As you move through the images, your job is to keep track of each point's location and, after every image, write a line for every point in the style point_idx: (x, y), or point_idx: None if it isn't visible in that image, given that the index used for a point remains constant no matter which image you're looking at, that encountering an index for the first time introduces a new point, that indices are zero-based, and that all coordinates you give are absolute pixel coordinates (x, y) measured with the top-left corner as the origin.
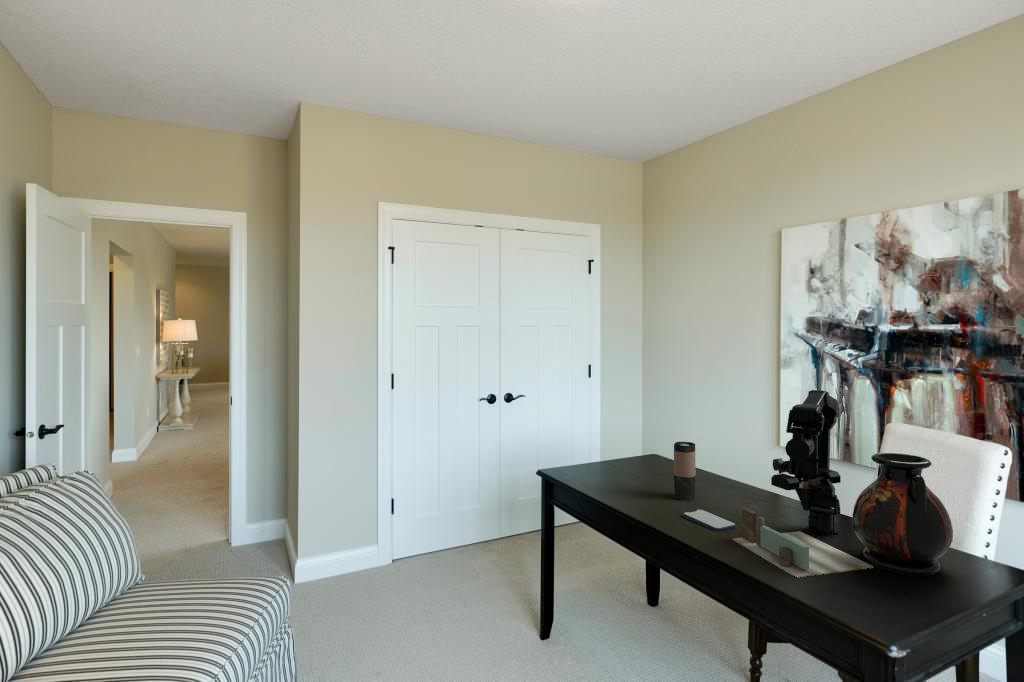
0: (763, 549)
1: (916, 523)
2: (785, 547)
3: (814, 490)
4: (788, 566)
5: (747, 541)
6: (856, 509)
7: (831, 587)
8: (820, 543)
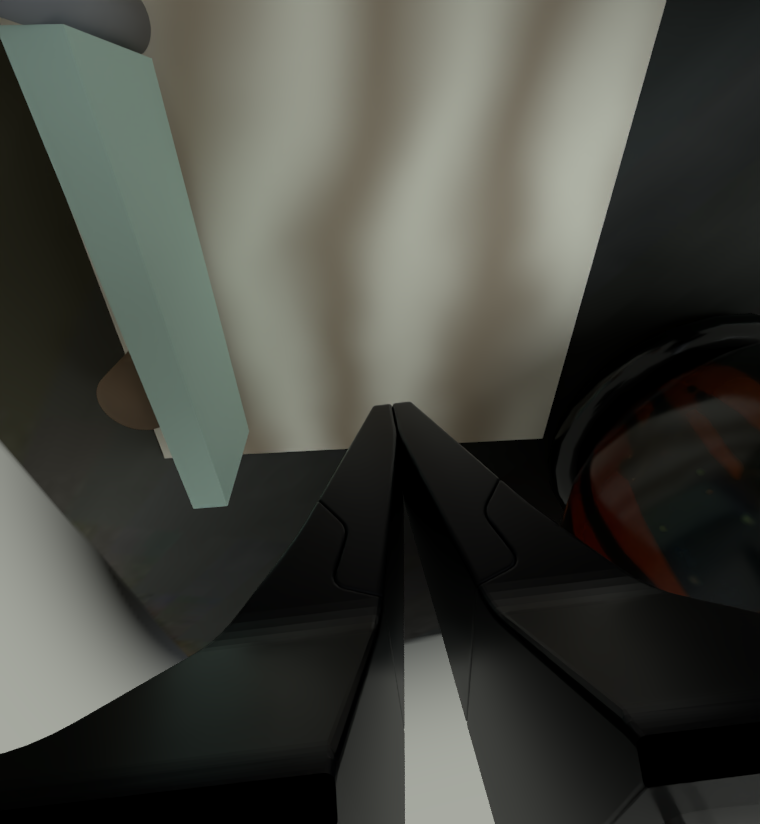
0: None
1: None
2: None
3: (492, 796)
4: None
5: None
6: (744, 583)
7: (257, 519)
8: (598, 123)
